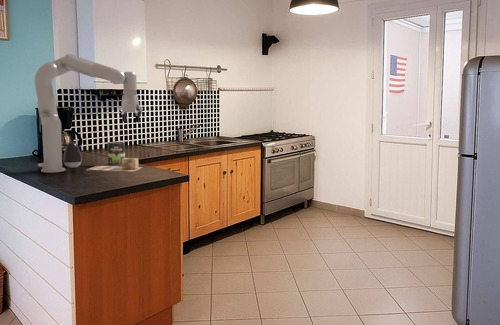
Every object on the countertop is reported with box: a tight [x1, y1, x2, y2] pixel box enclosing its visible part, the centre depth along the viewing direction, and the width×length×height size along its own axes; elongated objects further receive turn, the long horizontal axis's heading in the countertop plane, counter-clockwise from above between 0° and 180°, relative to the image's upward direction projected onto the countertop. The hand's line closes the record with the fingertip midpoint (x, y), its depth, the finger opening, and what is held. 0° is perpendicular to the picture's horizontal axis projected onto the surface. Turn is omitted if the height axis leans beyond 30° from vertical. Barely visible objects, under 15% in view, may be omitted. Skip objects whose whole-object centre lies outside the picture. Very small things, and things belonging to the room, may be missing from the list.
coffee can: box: [107, 141, 126, 166], centre depth 277 cm, size 10×10×14 cm
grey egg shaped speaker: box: [62, 141, 83, 169], centre depth 267 cm, size 10×10×15 cm
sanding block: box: [121, 157, 140, 171], centre depth 258 cm, size 8×5×6 cm, turn 84°
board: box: [85, 165, 144, 172], centre depth 259 cm, size 28×15×1 cm, turn 84°
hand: (131, 122), depth 268 cm, fingers open, 9 cm apart
